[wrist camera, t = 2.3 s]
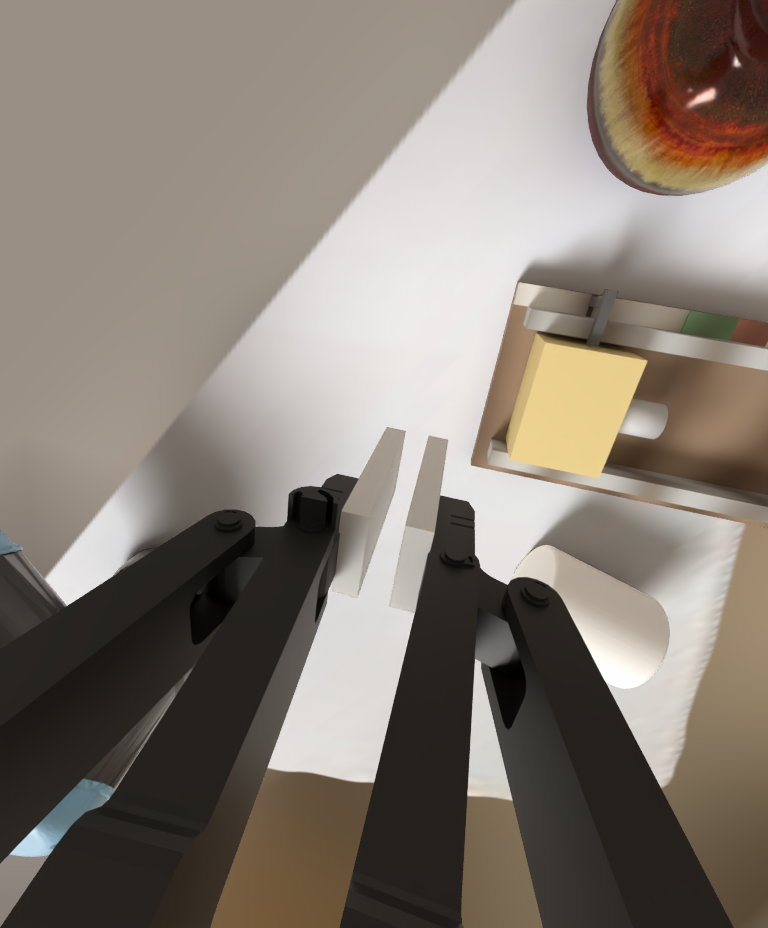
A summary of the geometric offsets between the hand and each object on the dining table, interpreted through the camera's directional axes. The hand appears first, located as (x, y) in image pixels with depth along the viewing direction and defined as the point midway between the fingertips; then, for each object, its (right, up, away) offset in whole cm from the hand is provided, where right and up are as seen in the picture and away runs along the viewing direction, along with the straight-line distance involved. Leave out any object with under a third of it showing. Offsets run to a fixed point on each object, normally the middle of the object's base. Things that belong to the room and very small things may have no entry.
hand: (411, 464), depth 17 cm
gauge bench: (+19, +4, +15) cm, 24 cm away
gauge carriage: (+14, +6, +13) cm, 20 cm away
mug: (+15, -12, +23) cm, 31 cm away
